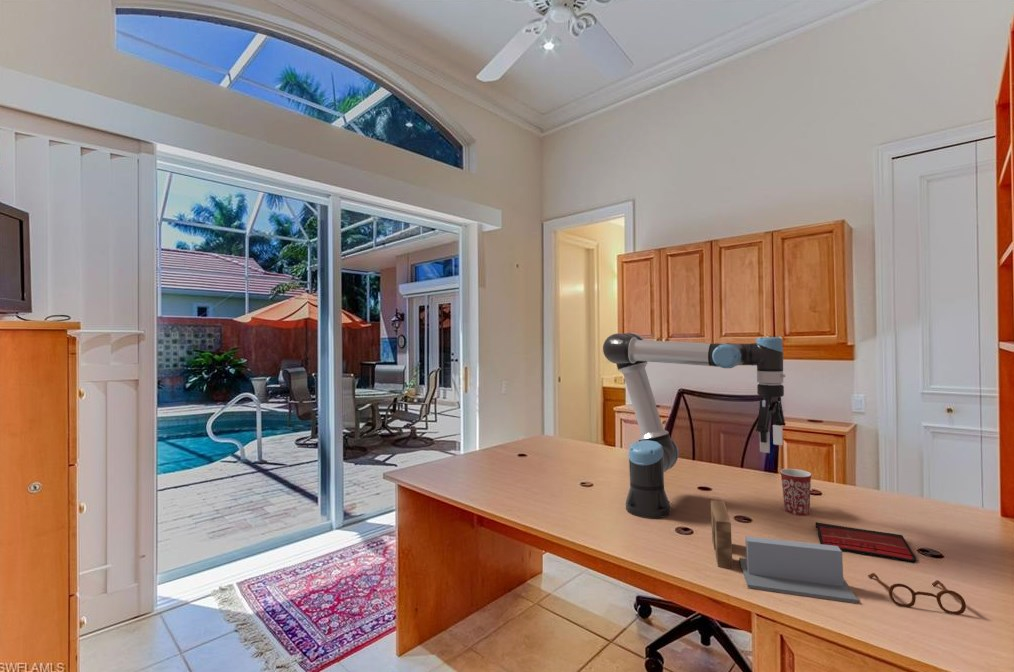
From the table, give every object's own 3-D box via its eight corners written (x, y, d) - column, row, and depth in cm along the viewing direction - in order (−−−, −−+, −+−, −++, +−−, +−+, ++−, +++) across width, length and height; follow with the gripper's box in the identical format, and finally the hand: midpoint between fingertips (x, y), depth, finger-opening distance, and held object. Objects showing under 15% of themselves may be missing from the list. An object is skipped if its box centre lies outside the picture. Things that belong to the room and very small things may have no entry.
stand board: (747, 587, 107) (746, 550, 108) (739, 560, 121) (738, 527, 121) (858, 603, 100) (856, 563, 100) (836, 572, 113) (834, 537, 113)
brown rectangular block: (717, 566, 118) (716, 521, 118) (712, 540, 133) (710, 500, 133) (732, 568, 117) (730, 522, 117) (725, 542, 132) (723, 501, 132)
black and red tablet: (815, 521, 140) (902, 533, 130) (815, 528, 140) (902, 541, 130) (821, 543, 126) (919, 560, 116) (821, 552, 126) (919, 569, 116)
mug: (809, 519, 146) (807, 478, 147) (778, 512, 153) (776, 472, 153) (818, 508, 155) (816, 469, 155) (788, 502, 162) (787, 465, 162)
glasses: (890, 607, 99) (889, 584, 99) (867, 577, 111) (866, 557, 111) (967, 618, 94) (966, 594, 95) (934, 586, 107) (933, 565, 107)
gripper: (770, 388, 135) (772, 457, 135) (794, 381, 153) (795, 443, 152) (744, 386, 141) (745, 453, 141) (769, 380, 158) (771, 440, 158)
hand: (771, 448), depth 147 cm, fingers open, 13 cm apart
